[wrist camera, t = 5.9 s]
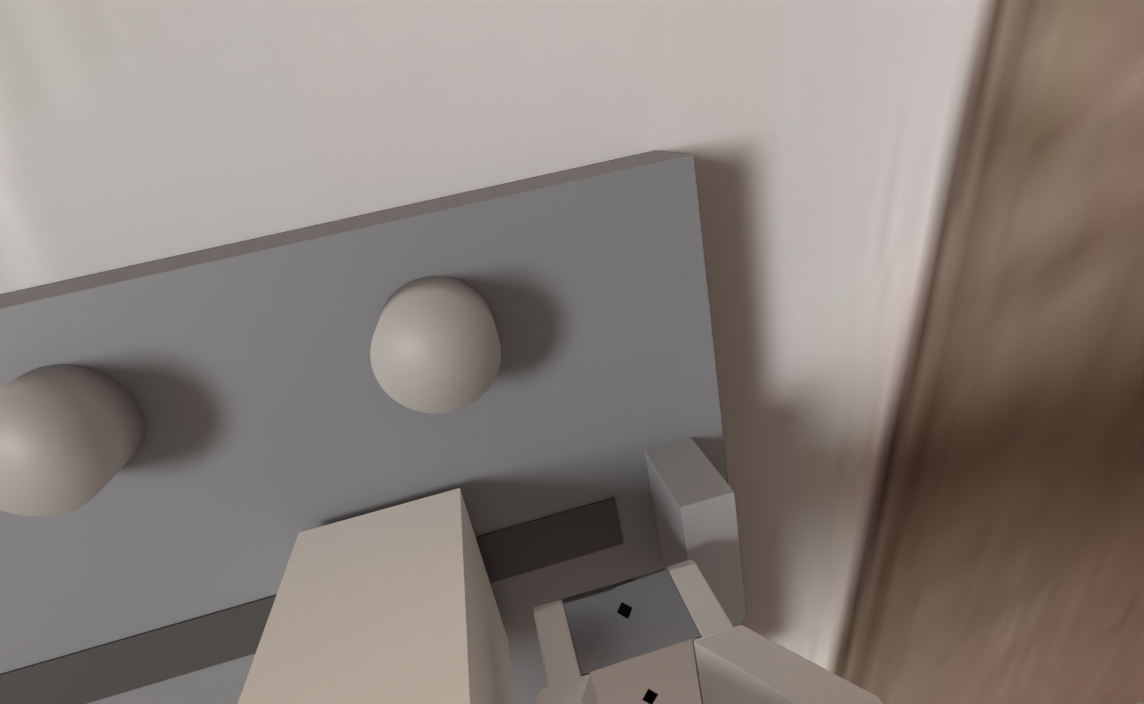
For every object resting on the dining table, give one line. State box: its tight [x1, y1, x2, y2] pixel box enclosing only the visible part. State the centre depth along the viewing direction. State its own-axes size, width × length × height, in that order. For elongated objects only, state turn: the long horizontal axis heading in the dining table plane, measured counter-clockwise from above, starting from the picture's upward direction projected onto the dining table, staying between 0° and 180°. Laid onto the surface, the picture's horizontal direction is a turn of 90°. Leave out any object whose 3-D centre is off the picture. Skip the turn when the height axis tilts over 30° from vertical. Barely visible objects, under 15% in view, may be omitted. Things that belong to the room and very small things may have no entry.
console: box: [0, 150, 747, 704], centre depth 12 cm, size 22×14×4 cm, turn 101°
